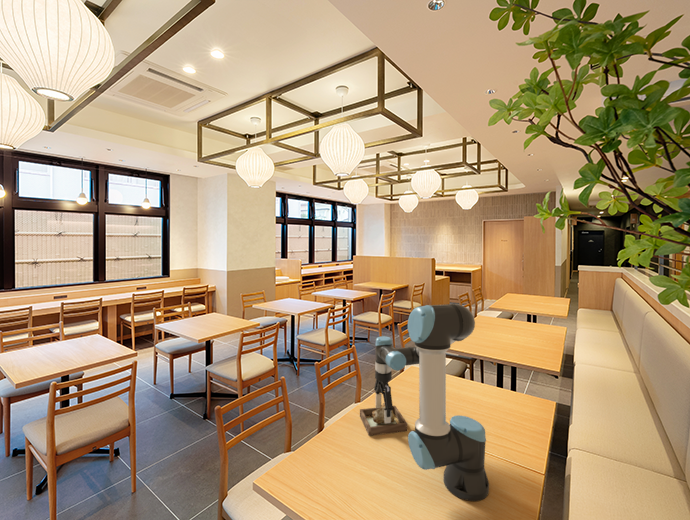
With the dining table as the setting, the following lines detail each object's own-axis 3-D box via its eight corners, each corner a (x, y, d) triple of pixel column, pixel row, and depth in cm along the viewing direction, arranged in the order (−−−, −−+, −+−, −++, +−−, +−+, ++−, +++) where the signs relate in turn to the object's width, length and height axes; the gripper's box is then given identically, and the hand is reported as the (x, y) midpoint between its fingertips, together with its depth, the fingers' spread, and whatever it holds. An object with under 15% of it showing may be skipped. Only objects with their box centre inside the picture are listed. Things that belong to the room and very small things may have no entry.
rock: (395, 430, 150) (395, 409, 149) (372, 429, 150) (372, 408, 149) (392, 415, 162) (393, 395, 161) (371, 415, 162) (371, 395, 161)
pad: (400, 428, 152) (400, 427, 152) (372, 431, 149) (372, 431, 149) (391, 415, 162) (391, 414, 162) (366, 418, 160) (366, 417, 160)
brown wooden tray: (407, 431, 150) (407, 423, 150) (368, 435, 146) (368, 428, 146) (395, 412, 165) (395, 405, 165) (359, 416, 162) (359, 409, 161)
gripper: (401, 381, 142) (400, 429, 144) (382, 359, 167) (382, 400, 168) (384, 383, 141) (383, 431, 143) (368, 360, 165) (367, 402, 167)
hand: (382, 414), depth 155 cm, fingers open, 13 cm apart
